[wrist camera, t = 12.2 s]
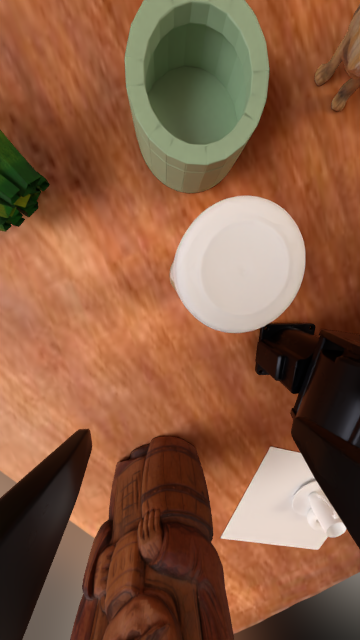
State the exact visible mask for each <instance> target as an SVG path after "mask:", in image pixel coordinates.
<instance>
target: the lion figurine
mask: <svg viewBox="0 0 360 640" xmlns="http://www.w3.org/2000/svg"><path fill="white" fill-rule="evenodd" d="M342 60H343V61H344V66H345V71H346V72H347V73H348V75H349V77H352V78H351V79H350V80H348V81H347V82H346V83H345V84H344V85H343V86H342V87H341V88H340V90H339V92H338V93H337V95H336V96H335V97H334V99H333V100H332V103H331V104H332V109H333V110H335V111H341V110H342V109H343V108H344V106H345V104H346V101H347V99H348V98H349V97H350V96H351V95H352V93H353V92H354V91H355V90H356V89H357V88H358V87H360V5H359V7H358V8H357V10H356V11H355V13H354V16H353V19H352V21H351V23H350V25H349V27H348V31H347V33H346V35H345V36H344V38H343V40H342V42H341V43H340V45H339V46H338V48H337V49H336V51H335V53H334V55H333V57H332V58H331V60H330V61H329V62H328V63H326V64H322V65H320V66H319V68H318V69H317V71H316V73H315V82H316V84H317V85H318V86H320V85H322V84H324V83H325V82H326V81H327V80H329V79H330V78H331V77H332V75H333V73H334V72H335V70H336V69H337V67H338V66H339V64H340V63H341V62H342Z"/></svg>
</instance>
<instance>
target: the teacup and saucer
mask: <svg viewBox="0 0 360 640" xmlns="http://www.w3.org/2000/svg"><path fill="white" fill-rule="evenodd" d="M291 507H292V509H293V511H294V512H295V513H296V514H297V515H299V516H301V517H306V520H307V523H308V525H309V526H310V527H311V528H312V529H313V530H314V531H317V532H324V533H325V535H326V536H327V537H337V536H340V535H341V534H343V533H344V532H345V531H346V529H347V528H346V527H345V525H344V524H343V522H342V521H341V519H340V517H339V516H338V514H337V513H336V511H335V510H334V508H333V506H332V505H331V503H330V502H329V500H328V499H327V497H326V495H325V494H324V492H323V491H322V489H321V488H320V486H319V484H318V483H317V481H316V480H314V481H311V482H309V483H307V484H305V485H303V486H302V487H301V488H300V489H299V490H298V491H297V492H296V493H295V494H294V496H293V498H292V501H291Z"/></svg>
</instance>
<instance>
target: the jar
mask: <svg viewBox="0 0 360 640" xmlns="http://www.w3.org/2000/svg"><path fill="white" fill-rule="evenodd" d="M125 76H126V88H127V94H128V98H129V103H130V108H131V113H132V117H133V122H134V127H135V132H136V136H137V140H138V143H139V147H140V150H141V153H142V156H143V158H144V160H145V162H146V164H147V166H148V167H149V169H150V170H151V172H152V173H153V174H154V175H155V176H156V177H157V178H158V180H160V181H161V182H162V183H163V184H165V185H166V186H168V187H170V188H172V189H174V190H176V191H180V192H185V193H197V192H202V191H205V190H208V189H210V188H212V187H214V186H215V185H216V184H218V183H219V182H220V181H221V180H222V179H223V178H224V177H225V176H226V175H227V174H228V172H229V171H230V169H231V168H232V166H233V165H234V163H235V162H236V160H237V159H238V157H239V155H240V154H241V152H242V150H243V149H244V147H245V145H246V144H247V142H248V140H249V139H250V137H251V136H252V134H253V132H254V131H255V129H256V127H257V125H258V123H259V120H260V117H261V114H262V112H263V109H264V106H265V103H266V99H267V90H268V80H269V62H268V54H267V47H266V41H265V38H264V35H263V33H262V30H261V28H260V25H259V23H258V20H257V18H256V15H255V14H254V12H253V10H252V9H251V8H250V7H249V5H248V4H247V3H246V1H245V0H144V1H143V3H142V5H141V7H140V8H139V10H138V12H137V14H136V16H135V18H134V20H133V22H132V24H131V27H130V32H129V37H128V42H127V47H126V52H125Z"/></svg>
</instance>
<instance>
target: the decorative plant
mask: <svg viewBox="0 0 360 640" xmlns="http://www.w3.org/2000/svg"><path fill="white" fill-rule="evenodd" d="M49 185H50V184H49V183H48V181H47V180H46V179H45V178H44V177H43V176H42V175H40V174H39V173H38V172H37V171H35V170H34V168H33V167H32V166H31V165H30V164H29V163H28V162H27V161H26V159H25V158H24V157H23V156H22V155H21V154H20V153H19V152H18V150H17V149H16V148H15V147H14V146H13V144H12V143H11V142H10V141H9V140H8V139H7V137H6V136H5V135H4V134H3V133H2V131H1V130H0V231H7V230H8V229H9V228H10V227H11V224H12V225H14V226H18V227H19V226H20V225H21V224H22V223H23V221H24V220H25V219H24V218H22V216H23V215H22V214H24V215H26V216H27V217H30V216H31V215H32V214H33V213H34V212H35V211H36V210H37V209H38V202H37V199H38V197H39V195H40V193H41V191H40V190H42V191H44V190H45V189H46V188H47V187H48V186H49ZM20 212H21V213H22V214H21V213H20Z"/></svg>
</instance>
